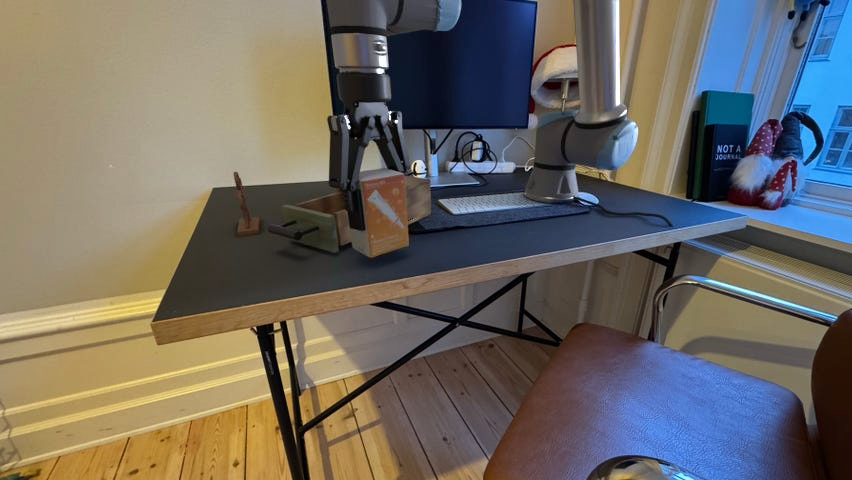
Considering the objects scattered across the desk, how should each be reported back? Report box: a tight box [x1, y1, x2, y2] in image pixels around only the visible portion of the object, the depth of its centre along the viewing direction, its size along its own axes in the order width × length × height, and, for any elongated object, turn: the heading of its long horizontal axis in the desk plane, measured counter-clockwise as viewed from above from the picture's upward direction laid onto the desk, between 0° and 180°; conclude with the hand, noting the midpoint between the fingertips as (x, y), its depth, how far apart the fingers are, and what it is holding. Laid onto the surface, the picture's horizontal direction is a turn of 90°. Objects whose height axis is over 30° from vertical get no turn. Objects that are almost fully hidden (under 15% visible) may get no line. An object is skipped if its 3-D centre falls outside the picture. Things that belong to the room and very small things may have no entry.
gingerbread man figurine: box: [233, 171, 261, 237], centre depth 77 cm, size 9×4×12 cm, turn 26°
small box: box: [348, 167, 410, 259], centre depth 62 cm, size 8×6×13 cm
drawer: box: [267, 191, 352, 254], centre depth 71 cm, size 21×12×7 cm, turn 151°
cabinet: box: [335, 175, 432, 226], centre depth 85 cm, size 17×14×9 cm
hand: (378, 220), depth 63 cm, fingers closed on small box, 9 cm apart
